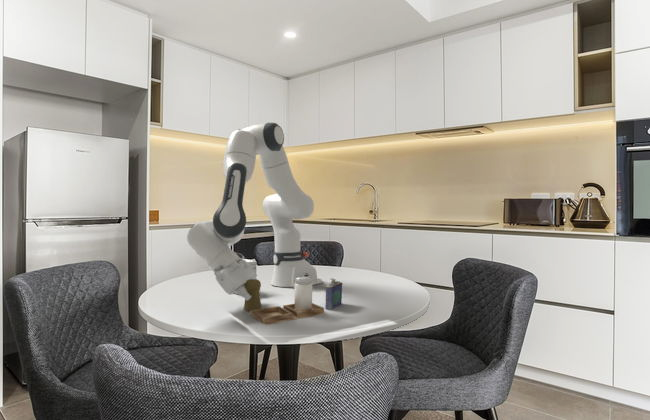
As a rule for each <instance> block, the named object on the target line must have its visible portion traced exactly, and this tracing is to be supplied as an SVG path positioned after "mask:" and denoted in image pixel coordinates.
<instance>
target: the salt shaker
mask: <svg viewBox="0 0 650 420" xmlns="http://www.w3.org/2000/svg"><path fill="white" fill-rule="evenodd" d="M312 303H313V285H312V282H311V277H305V276H303V277H296V282H295V288H294V304H295V310H296V311H298V312H300V311H305V310H311V309H312Z"/></svg>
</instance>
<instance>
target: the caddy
mask: <svg viewBox="0 0 650 420" xmlns="http://www.w3.org/2000/svg"><path fill="white" fill-rule="evenodd" d="M282 306H283V307H281V306H280V305H277V306H271V307H265V308H264V307H263V308H262V309H257V310H251V312H250V316H251V317H253V318H254V319H256V320H257V321H259V322H260V323H262V324H263V325H269V324H270V325H271V324H275V323H276V324H277V323H281V322H289V321H292V320H297V319H298V320H299V319H303V318H309V317H314V316H320V315H325V314H326V313H325V307H323V306H320V305H318V304H315V303H314V302H312V309H311V310H305V311H300V312H298V311H296V310H295V303H289V304H283V305H282Z"/></svg>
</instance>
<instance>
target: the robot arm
mask: <svg viewBox="0 0 650 420" xmlns="http://www.w3.org/2000/svg"><path fill="white" fill-rule="evenodd" d="M284 141H285V135H284V131H283V129H282V127H281V126H280V125H279V124H278V123H277V122H266V123H260V124H253V125H250V126H247V127H244V128H242V129H240V128H239V129H237V130H235V131H233V132H232V133H230V136H229V137H228V140H227V143H226V146H225V150H224V154H223V155H224V156H223V162H222V163H223V164H222V172H223V173H222V174H223V176H224V178H225V184H224V189H223V195H222V201H221V203H220V205H219V206H218V207H217V209H216V211H215V212H214V214H213V218H212V219H211V220H205V221H198V222H196V223H195V224H193V226H192V227H191V228H190V229H189V231H188V232H187V236H186V240H187V243H188V245H189V247H191V249H192V250H193V251H194V253H195V254H196V255H197V256H198V257H199V258H201V259H202V260H203V261H205V263H206V265H207V266H208V268H209V269H210V270H211V271H212V272H213V274H214V275H215V280H216V282H217V284H218V285H219V286H220V287H221V288H222V290H223V291H224V292H225V293H226V294H228V295H232V294H236V293H237V294H236V295H238V296H241V297H242V298H244V300H245V299H246V300H247V301H248V300H249V299H250V298H251V297H252V295H251V294H250V293H249V292H247V291H245V290H244V288H243V287H244V284H245V283H246V281H247V280H250V279H255V278H256V279H257V276H258V274H257V271H256V272H255V271H254V269H253V268H252V267H251V266H250V265H249V264H248V262H247V261H245V260H243V259H245V256H244V255H243V254H242V253H239V252H235V251H234V250H232V248H230V247H231V246H233V245H234V244H236V243H238V242H239V241H241V239H242V238H243V236H244V233H245V228H246V225H247V216H246V212H245V209H244V207H243V205H244V204H243V202H244V196H245V195H244V194H245V187H246V183H248V182H249V181H250V180H252V176H253V174H254V171H255V166H256V157H257V156H259V160H260V165H261V168H262V172H263V174H264V178H265V182H266V184H267V186H268V187H270V188H271V189H272V190H273V191H274V192H275V193H273V194H270V195H267V196H266V197H265V198H264V199H263V201H262V211H263V213H264V214H265V215H266V217H268V219H269V221H270V223H271V226H272V228H273V233H274V235H273V236H274V251H273V265H274V266H273V272H272V277H271V281H270V284H271V286H273V287H274V286H275V287H281V288H294V289H295V282H296V277H303V276H305V277H311V282H312V286H314V285H318V284H319V285H320V284H323V279H321V278H319V277H318V272H317V269H316V268H315V267H314V265H312V264H311V263H310V262H308V261H307V260H306V259H305V258H308V257H309V253H308V252H307V251H301V233H300V231H299V230H298V229H297V228H296V227H295V225H294V223H293V220H304V219H308V218H310V217H312V215H313V213H314V209H315V203H314V200H313V198H312V197H311V196H310V195H308V194H307V193H306V192H304V190H302V189H301V187H300V186H299V185H298V183H297V182H296V180H295V177H294V175H293V173H292V169H291V166H290V163H289V160H288V157H287V154H286V151H285V148H284ZM234 292H236V293H234ZM260 292H261V288H260V289H259V293H260Z"/></svg>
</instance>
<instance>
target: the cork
mask: <svg viewBox="0 0 650 420" xmlns="http://www.w3.org/2000/svg"><path fill="white" fill-rule="evenodd" d="M261 285H262V283H261V280H259V279H257V278H256V279H250V280H247V281H246V283H245V284H244V287H245V289H246V291H247V292H249V293H250V294H251V295H252V297H251V298H250V299H249V300H248V301H247V300H246V299H245V298H244V305H243V310H244V311H245V312H250V313H251V310H257V309H263V308H262V301H261V296H260V295H261V294H260V292H259V289H260V290H261V287H262V286H261Z"/></svg>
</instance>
